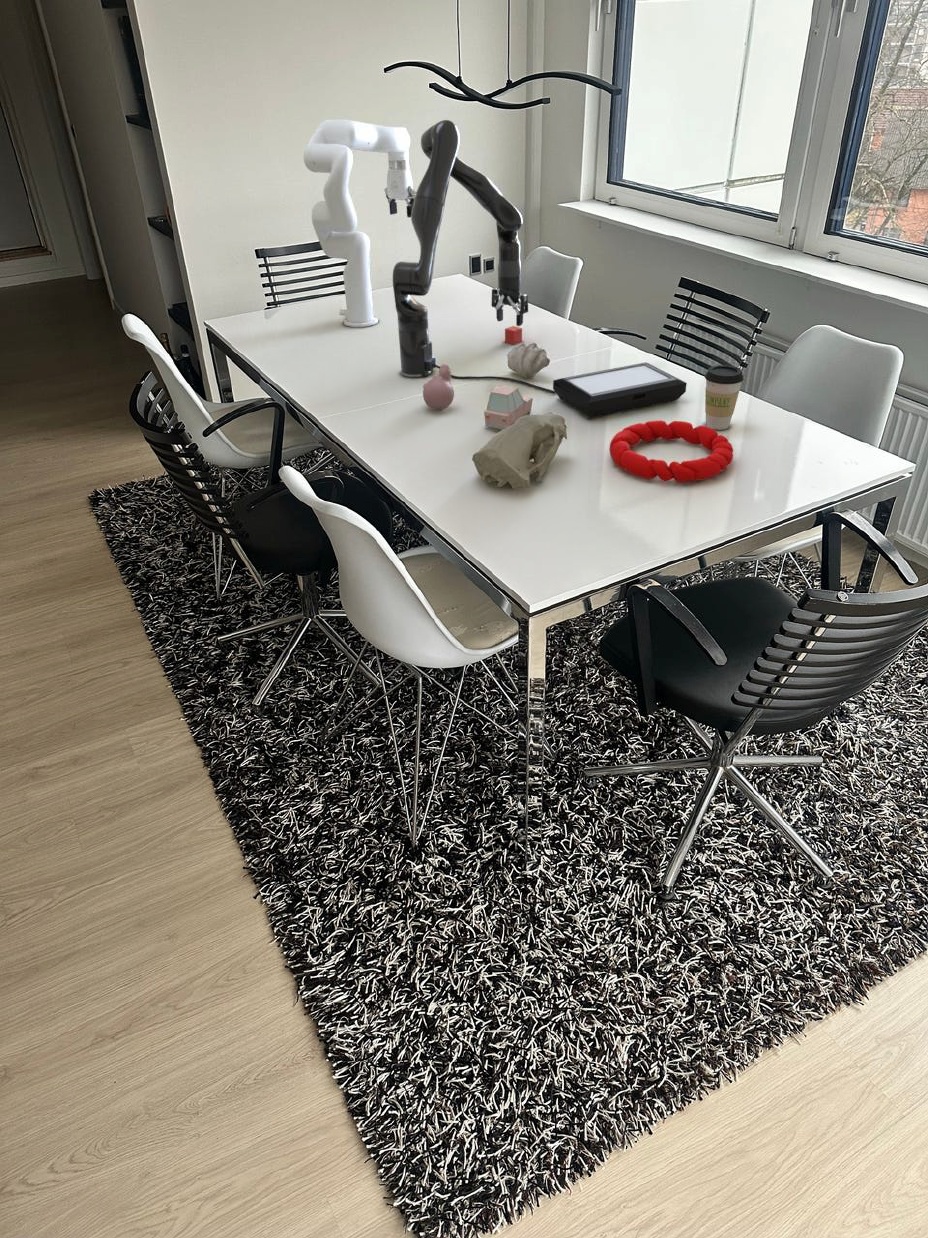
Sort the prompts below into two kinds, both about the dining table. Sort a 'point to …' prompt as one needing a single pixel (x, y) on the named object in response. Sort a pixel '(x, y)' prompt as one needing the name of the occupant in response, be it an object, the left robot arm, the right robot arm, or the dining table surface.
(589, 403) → the electronic device
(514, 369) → the seashell
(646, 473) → the decorative ring
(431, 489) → the dining table surface
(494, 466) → the animal skull
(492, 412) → the toy car
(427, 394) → the figurine
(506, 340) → the block
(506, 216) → the right robot arm
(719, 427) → the coffee cup
